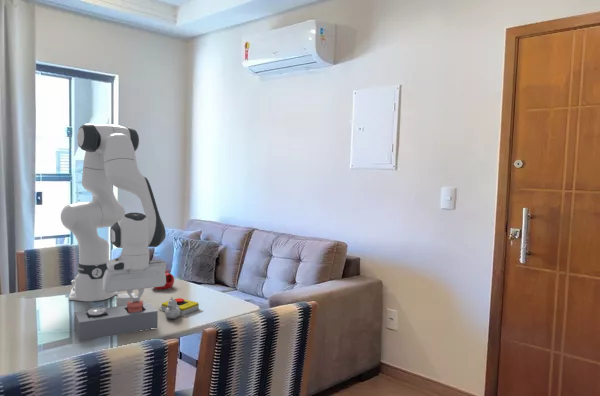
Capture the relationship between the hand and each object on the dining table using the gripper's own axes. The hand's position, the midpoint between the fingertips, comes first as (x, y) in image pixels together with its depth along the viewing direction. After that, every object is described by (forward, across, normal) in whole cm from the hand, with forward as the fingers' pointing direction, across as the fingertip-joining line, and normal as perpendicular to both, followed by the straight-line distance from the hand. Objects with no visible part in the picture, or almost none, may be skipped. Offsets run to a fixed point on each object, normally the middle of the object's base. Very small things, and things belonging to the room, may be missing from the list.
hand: (135, 302), depth 159 cm
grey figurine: (+9, -14, -3) cm, 17 cm away
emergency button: (+9, -19, -10) cm, 23 cm away
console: (+8, +6, 0) cm, 10 cm away
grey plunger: (+6, +12, 0) cm, 13 cm away
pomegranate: (+9, -22, -43) cm, 49 cm away
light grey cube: (+9, -1, -18) cm, 20 cm away
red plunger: (+5, 0, 0) cm, 5 cm away
